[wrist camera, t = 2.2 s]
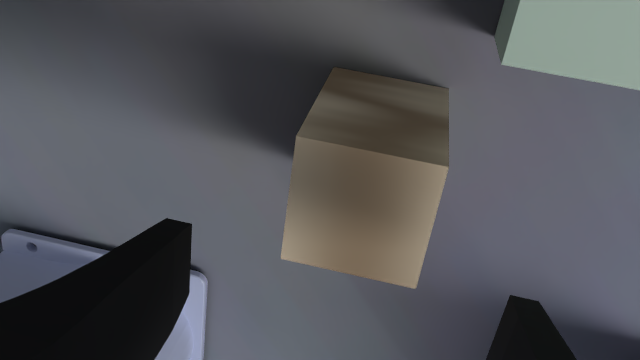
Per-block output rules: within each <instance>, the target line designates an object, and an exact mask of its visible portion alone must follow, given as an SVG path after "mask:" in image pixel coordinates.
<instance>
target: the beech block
mask: <svg viewBox="0 0 640 360" xmlns="http://www.w3.org/2000/svg"><path fill="white" fill-rule="evenodd" d="M448 169H449V89H447V88H442V87H437V86H431V85H426V84H421V83H416V82H410V81H405V80H400V79H395V78H390V77H384V76H379V75H374V74H369V73H363V72H358V71H353V70H348V69H343V68H337V67H333V69H332V71H331V73H330V75H329V77H328V78H327V80H326V82H325V84H324V86H323V88H322V89H321V91H320V93H319V95H318V97H317V99H316V100H315V102H314V104H313V106H312V108H311V110H310V111H309V113H308V115H307V117H306V119H305V121H304V122H303V124H302V126H301V128H300V130H299V132H298V133H297V135H296V141H295V149H294V157H293V165H292V173H291V180H290V188H289V196H288V204H287V212H286V220H285V228H284V236H283V244H282V252H281V259H285V260H289V261H293V262H298V263H302V264H307V265H311V266H316V267H320V268H325V269H329V270H333V271H338V272H342V273H347V274H351V275H356V276H360V277H365V278H369V279H374V280H378V281H382V282H387V283H391V284H396V285H400V286H405V287H409V288H414V289H416V286H417V283H418V279H419V275H420V272H421V268H422V264H423V261H424V257H425V253H426V250H427V246H428V242H429V239H430V235H431V231H432V228H433V224H434V220H435V216H436V213H437V209H438V205H439V202H440V198H441V194H442V191H443V187H444V183H445V180H446V176H447V172H448Z"/></svg>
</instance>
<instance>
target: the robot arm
mask: <svg viewBox="0 0 640 360" xmlns="http://www.w3.org/2000/svg"><path fill="white" fill-rule="evenodd" d="M191 235H192V224H190V223H186V222H181V221H177V220H172V219H168V218H166V219H164V220H163V221H161V222H159V223H157V224H156V225H154V226H152V227H151V228H149V229H147V230H146V231H144V232H142V233H141V234H139V235H137V236H136V237H134V238H132V239H131V240H129V241H127V242H125V243H124V244H122V245H120V246H119V247H117V248H115V249H113V250H112V251H107V250H103V249H99V248H94V247H90V246H86V245H81V244H77V243H73V242H68V241H64V240H60V239H55V238H51V237H47V236H42V235H38V234H34V233H29V232H25V231H21V230H16V229H9V230H7V231H6V232H5V233H3V235H2V236H1V242H2V249H3V251H2V252H1V253H0V360H203V359H204V341H205V322H206V304H207V286H208V282H207V278H206V277H205V275H203V274H202V273H200V272H198V271H194V270H190V264H191ZM32 243H33V244H35V245H36V246H37V247H36V246H34V245H33V244H32ZM486 360H577V359H576V358H575V356H574V355H573V353H572V352H571V350H570V349H569V347H568V346H567V344H566V343H565V341H564V340H563V338H562V337H561V335H560V334H559V332H558V330H557V329H556V327H555V326H554V324H553V323H552V321H551V320H550V318H549V316H548V315H547V313H546V312H545V310H544V309H543V307H542V306H541V304H540V303H539V301H534V300H530V299H525V298H521V297H516V296H512V295H510V297H509V299H508V302H507V305H506V307H505V310H504V313H503V316H502V318H501V321H500V324H499V326H498V329H497V332H496V334H495V337H494V340H493V342H492V345H491V348H490V350H489V353H488V356H487V358H486Z"/></svg>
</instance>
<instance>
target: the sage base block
mask: <svg viewBox="0 0 640 360" xmlns="http://www.w3.org/2000/svg"><path fill="white" fill-rule="evenodd" d="M494 38H495V42H496V45H497V49H498V53H499V57H500V61H501V65H507V66H512V67H517V68H523V69H528V70H534V71H539V72H544V73H550V74H555V75H560V76H566V77H571V78H577V79H582V80H587V81H593V82H598V83H603V84H609V85H614V86H620V87H625V88H630V89H636V90H640V0H505V1H504V4H503V8H502V11H501V15H500V18H499V22H498V26H497V29H496V33H495V36H494Z"/></svg>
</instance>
